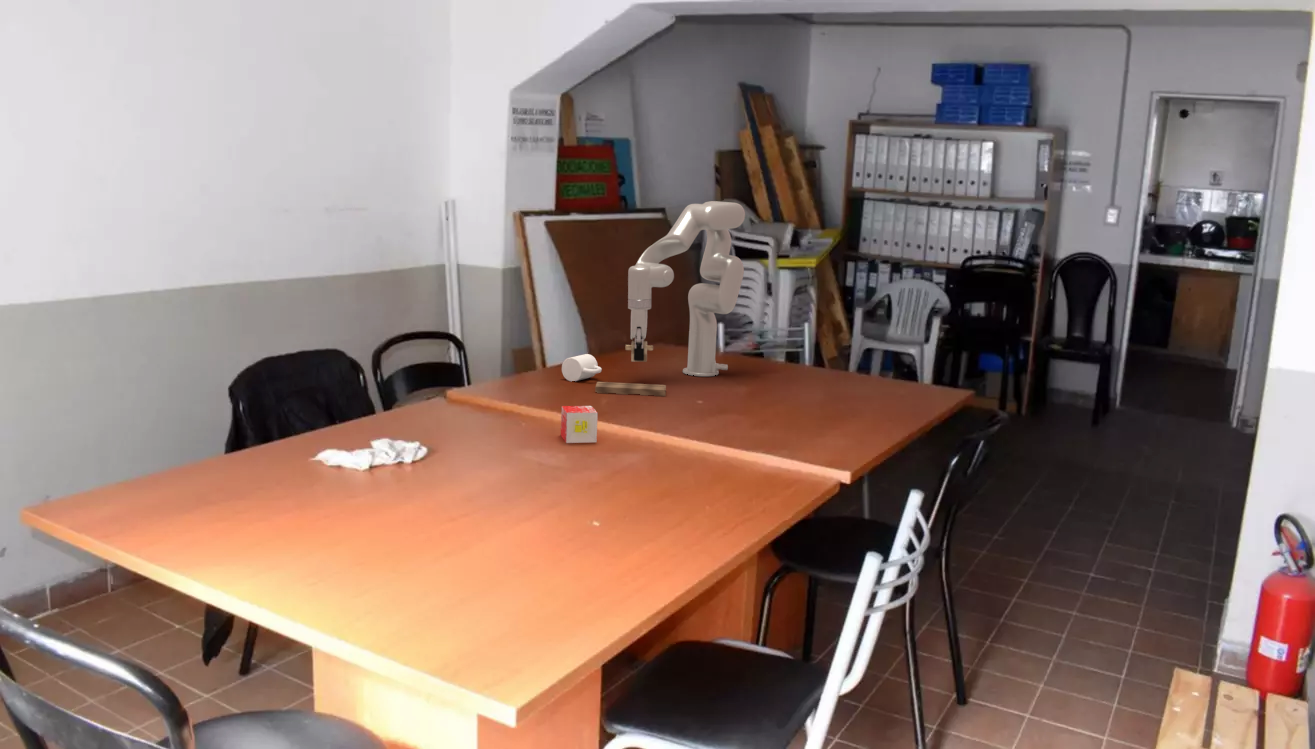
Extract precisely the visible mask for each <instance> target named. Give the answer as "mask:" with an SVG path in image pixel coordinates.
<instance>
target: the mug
mask: <svg viewBox="0 0 1315 749" xmlns="http://www.w3.org/2000/svg"><path fill="white" fill-rule="evenodd" d="M598 365H599V364H598V361H597V360H596V358H595V356H593V355H592V354H590V353H589V354H588V353H585V354H579V355H576V356H572V357H567V358H566V359H565V360H564V361H563V362H562V364H561V373H562V375H563V377H564V379H566V381H569V382H572V381H575V382H578V381H581V380H586V379H589V378H593V377H594V376H595V375H596V374H599V373H601V372H602V371H603V370H602V369H603V368H602V367H601V366H598Z"/></svg>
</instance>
